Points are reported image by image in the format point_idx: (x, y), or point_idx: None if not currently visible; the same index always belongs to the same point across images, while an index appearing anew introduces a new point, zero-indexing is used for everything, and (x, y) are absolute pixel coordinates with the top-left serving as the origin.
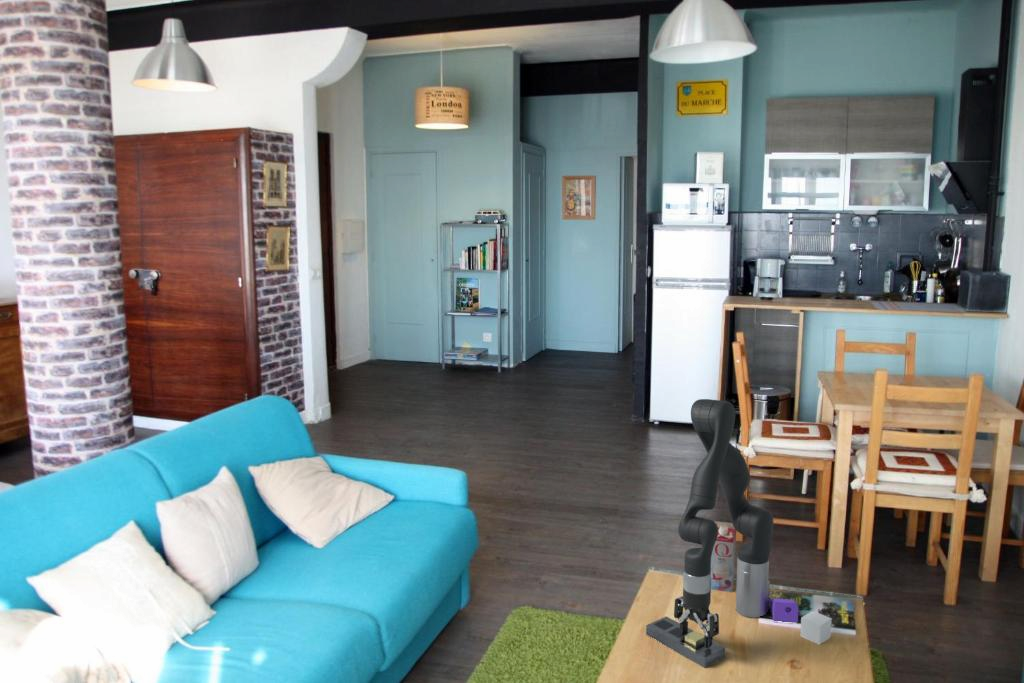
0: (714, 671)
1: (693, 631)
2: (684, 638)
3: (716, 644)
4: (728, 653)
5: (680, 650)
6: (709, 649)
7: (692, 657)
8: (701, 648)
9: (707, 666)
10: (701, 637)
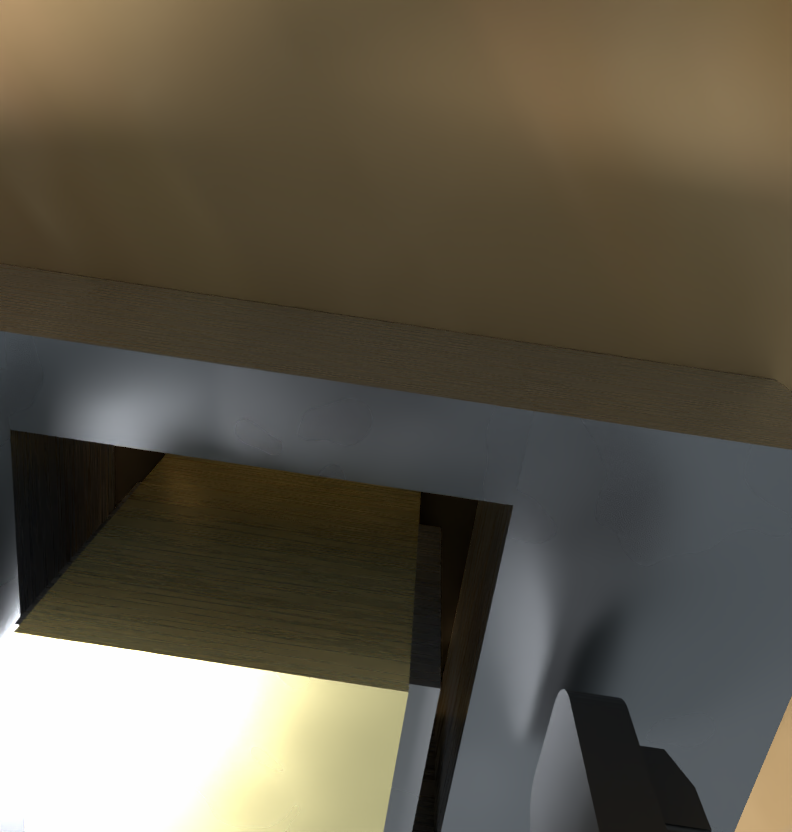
0: (784, 782)
1: (21, 673)
2: (12, 697)
3: (649, 488)
4: (774, 208)
5: None
6: None
7: None
8: (473, 786)
9: None
10: (354, 775)
